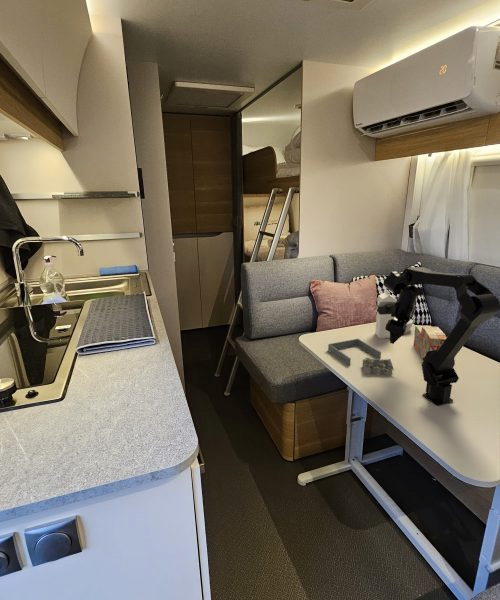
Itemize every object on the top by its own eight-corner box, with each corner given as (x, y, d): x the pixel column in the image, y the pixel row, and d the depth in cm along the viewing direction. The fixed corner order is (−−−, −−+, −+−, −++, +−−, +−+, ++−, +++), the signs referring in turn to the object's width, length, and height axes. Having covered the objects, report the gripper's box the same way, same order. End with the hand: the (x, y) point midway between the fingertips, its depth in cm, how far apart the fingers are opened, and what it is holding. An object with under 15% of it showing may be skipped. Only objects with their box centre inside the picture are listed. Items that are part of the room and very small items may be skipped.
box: (380, 358, 139) (381, 352, 138) (349, 365, 135) (349, 358, 134) (357, 344, 153) (357, 338, 152) (328, 350, 148) (328, 344, 147)
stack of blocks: (413, 344, 152) (416, 318, 148) (428, 345, 151) (431, 319, 147) (426, 367, 132) (430, 337, 128) (444, 368, 131) (448, 338, 127)
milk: (387, 333, 165) (392, 288, 159) (392, 338, 159) (397, 292, 153) (374, 333, 165) (378, 288, 159) (378, 338, 159) (383, 292, 153)
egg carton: (362, 374, 128) (363, 364, 127) (361, 364, 135) (362, 355, 134) (393, 376, 126) (394, 366, 125) (390, 367, 133) (391, 357, 132)
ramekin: (382, 330, 169) (383, 319, 168) (393, 324, 176) (394, 314, 175) (405, 336, 161) (406, 325, 160) (415, 329, 168) (417, 319, 167)
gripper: (389, 284, 131) (379, 318, 138) (375, 304, 117) (365, 341, 125) (420, 293, 125) (408, 328, 133) (410, 315, 112) (397, 353, 120)
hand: (394, 337), depth 128 cm, fingers open, 9 cm apart
